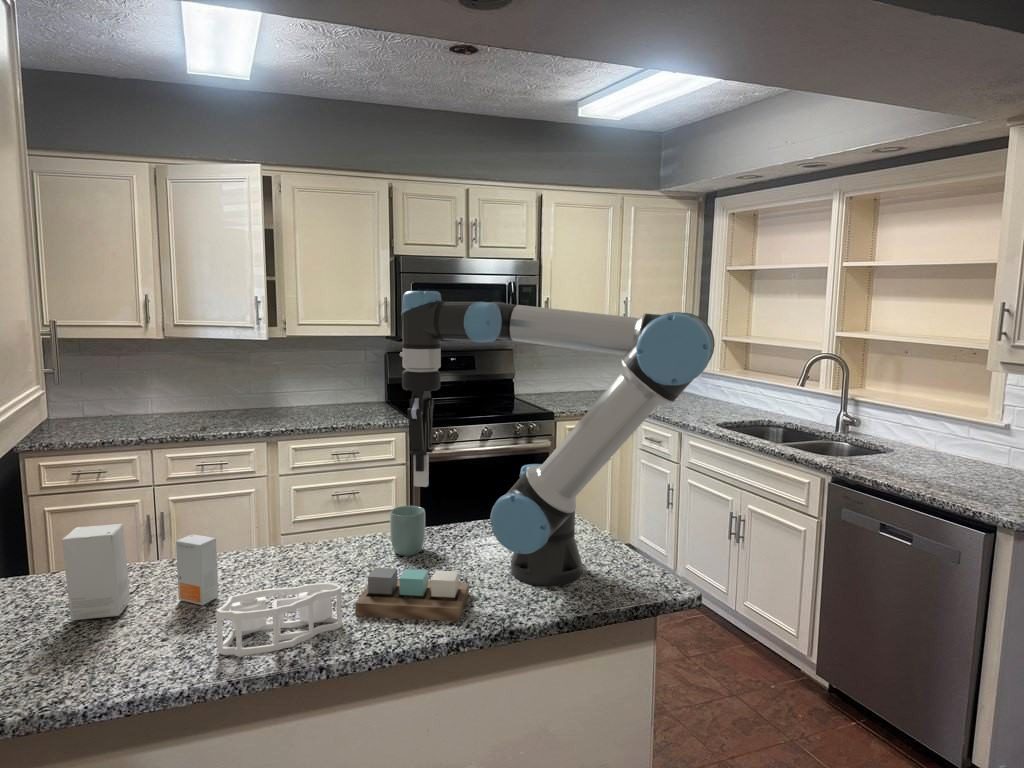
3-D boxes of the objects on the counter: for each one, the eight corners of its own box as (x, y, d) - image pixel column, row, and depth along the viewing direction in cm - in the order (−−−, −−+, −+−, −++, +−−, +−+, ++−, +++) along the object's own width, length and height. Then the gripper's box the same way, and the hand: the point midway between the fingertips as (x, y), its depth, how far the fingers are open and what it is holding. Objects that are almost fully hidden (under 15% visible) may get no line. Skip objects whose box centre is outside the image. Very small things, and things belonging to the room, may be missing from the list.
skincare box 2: (177, 601, 128) (174, 540, 126) (195, 592, 132) (192, 533, 130) (202, 606, 126) (199, 545, 124) (219, 597, 130) (217, 537, 128)
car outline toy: (340, 613, 124) (339, 575, 123) (344, 641, 113) (343, 600, 113) (222, 628, 118) (221, 588, 117) (216, 660, 107) (214, 617, 106)
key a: (458, 587, 128) (458, 571, 128) (454, 597, 124) (454, 581, 123) (436, 586, 128) (436, 570, 128) (431, 596, 124) (431, 579, 124)
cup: (418, 560, 149) (418, 517, 148) (385, 557, 150) (385, 514, 149) (429, 548, 156) (429, 506, 155) (398, 545, 158) (397, 504, 157)
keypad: (468, 595, 132) (468, 583, 131) (459, 621, 121) (459, 608, 120) (373, 590, 133) (373, 578, 133) (355, 616, 122) (355, 603, 122)
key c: (397, 584, 129) (397, 568, 129) (391, 594, 125) (391, 577, 124) (375, 583, 129) (374, 567, 129) (368, 593, 125) (367, 576, 125)
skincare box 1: (131, 602, 127) (126, 522, 125) (118, 618, 121) (113, 534, 119) (82, 605, 125) (76, 525, 123) (66, 622, 119) (60, 537, 117)
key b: (427, 586, 129) (427, 570, 128) (422, 595, 124) (422, 579, 124) (405, 584, 129) (405, 568, 129) (399, 594, 125) (399, 578, 124)
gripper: (411, 365, 139) (411, 476, 142) (393, 372, 126) (394, 493, 129) (446, 366, 138) (446, 477, 141) (432, 373, 125) (432, 495, 128)
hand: (421, 485), depth 135 cm, fingers closed
